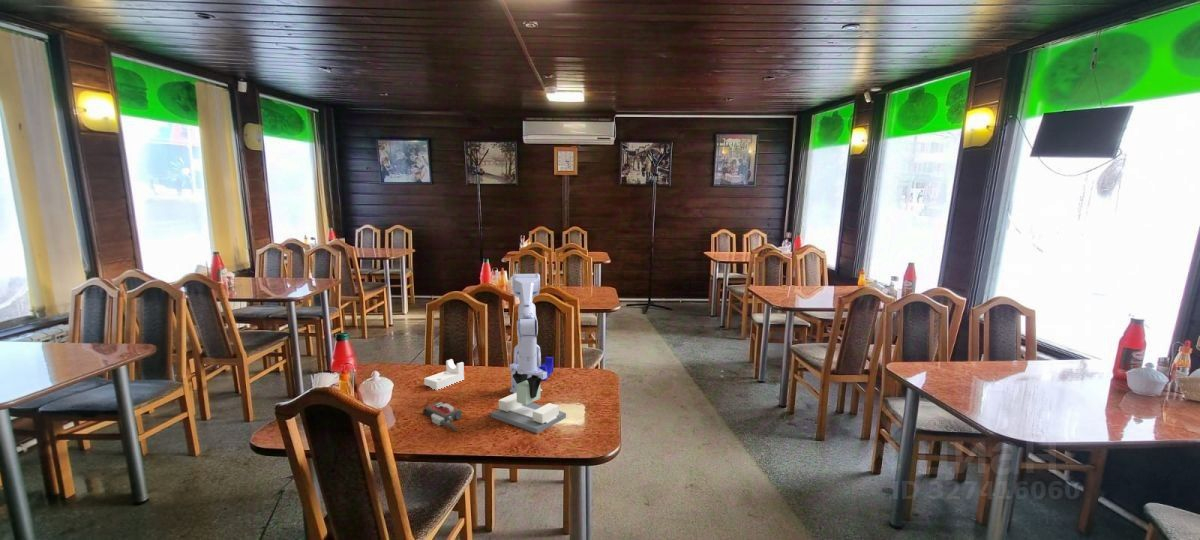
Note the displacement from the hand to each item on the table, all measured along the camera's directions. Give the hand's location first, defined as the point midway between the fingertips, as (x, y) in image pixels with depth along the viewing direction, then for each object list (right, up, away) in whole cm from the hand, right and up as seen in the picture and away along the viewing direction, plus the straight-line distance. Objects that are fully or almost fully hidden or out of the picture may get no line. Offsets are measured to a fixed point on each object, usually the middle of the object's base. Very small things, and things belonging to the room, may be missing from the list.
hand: (528, 395), depth 162 cm
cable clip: (+1, -2, +40) cm, 40 cm away
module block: (0, -2, 0) cm, 2 cm away
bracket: (-37, -3, +31) cm, 48 cm away
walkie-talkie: (-26, -8, -1) cm, 27 cm away
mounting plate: (0, -7, +1) cm, 7 cm away
